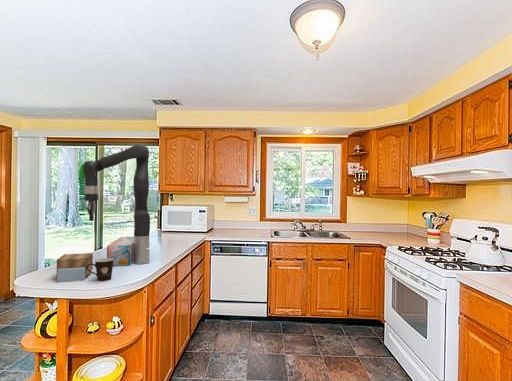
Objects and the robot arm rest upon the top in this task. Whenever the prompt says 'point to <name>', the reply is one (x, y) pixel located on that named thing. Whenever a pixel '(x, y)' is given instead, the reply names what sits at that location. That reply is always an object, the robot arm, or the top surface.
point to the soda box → (121, 251)
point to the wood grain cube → (76, 261)
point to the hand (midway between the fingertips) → (91, 220)
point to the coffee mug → (103, 268)
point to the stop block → (70, 274)
